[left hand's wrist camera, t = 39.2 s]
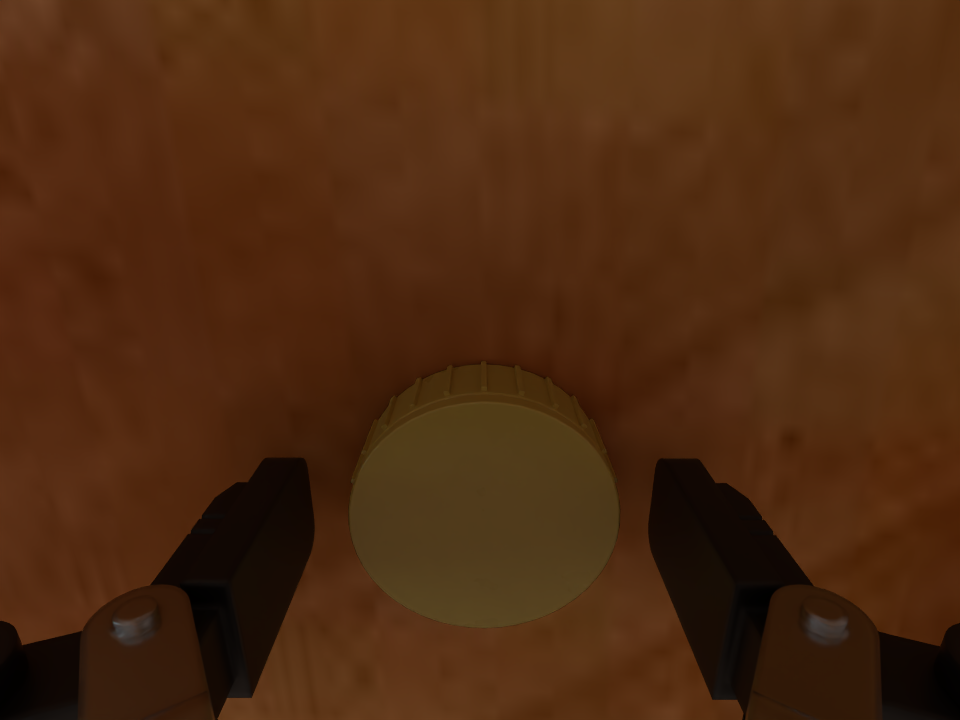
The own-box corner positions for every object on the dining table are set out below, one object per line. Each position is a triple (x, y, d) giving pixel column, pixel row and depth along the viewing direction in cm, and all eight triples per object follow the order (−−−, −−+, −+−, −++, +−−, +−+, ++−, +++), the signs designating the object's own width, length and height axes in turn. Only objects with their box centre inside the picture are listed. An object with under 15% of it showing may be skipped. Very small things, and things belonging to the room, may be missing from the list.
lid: (542, 594, 14) (552, 660, 12) (332, 526, 13) (310, 585, 11) (647, 413, 12) (675, 459, 10) (411, 321, 11) (398, 355, 10)
